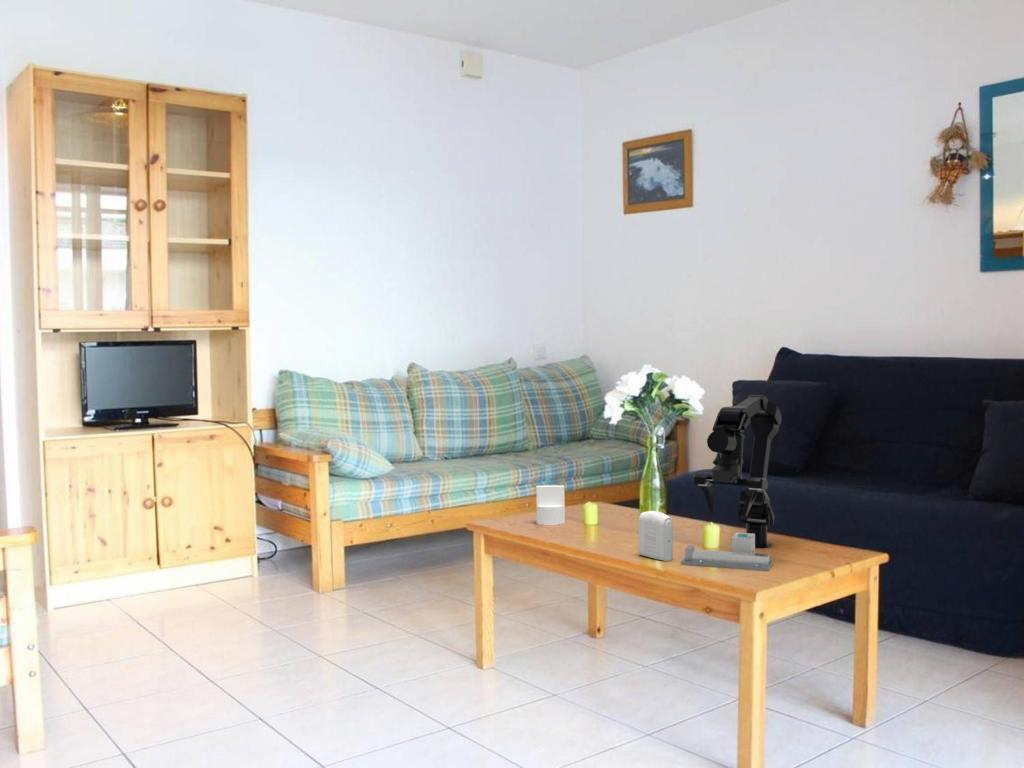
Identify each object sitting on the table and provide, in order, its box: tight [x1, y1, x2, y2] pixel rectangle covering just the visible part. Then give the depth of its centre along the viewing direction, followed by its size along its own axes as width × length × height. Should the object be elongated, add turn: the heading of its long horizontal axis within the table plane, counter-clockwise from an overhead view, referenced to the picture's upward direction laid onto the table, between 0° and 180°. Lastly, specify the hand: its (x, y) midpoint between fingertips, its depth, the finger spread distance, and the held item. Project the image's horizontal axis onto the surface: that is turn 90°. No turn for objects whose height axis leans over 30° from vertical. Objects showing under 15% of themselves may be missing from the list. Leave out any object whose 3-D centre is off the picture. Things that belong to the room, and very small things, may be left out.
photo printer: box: [638, 510, 674, 562], centre depth 258 cm, size 10×4×12 cm, turn 37°
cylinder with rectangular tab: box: [535, 484, 566, 525], centre depth 308 cm, size 9×9×12 cm
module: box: [731, 532, 756, 553], centre depth 256 cm, size 7×5×7 cm
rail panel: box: [680, 544, 773, 572], centre depth 249 cm, size 8×22×4 cm, turn 68°
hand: (728, 514), depth 253 cm, fingers open, 9 cm apart
